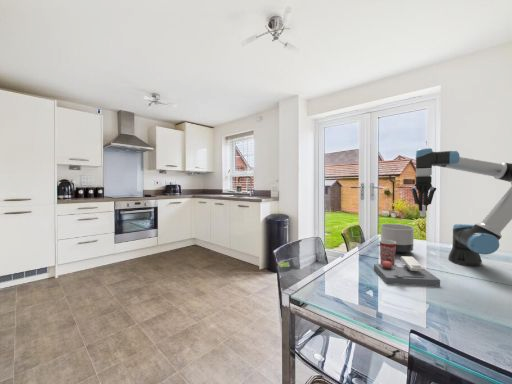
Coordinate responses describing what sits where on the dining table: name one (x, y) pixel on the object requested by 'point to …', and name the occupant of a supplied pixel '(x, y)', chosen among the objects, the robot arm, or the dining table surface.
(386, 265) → the button
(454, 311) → the dining table surface
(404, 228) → the planter
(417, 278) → the panel
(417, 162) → the robot arm
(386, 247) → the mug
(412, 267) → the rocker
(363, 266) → the dining table surface
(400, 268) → the slider
